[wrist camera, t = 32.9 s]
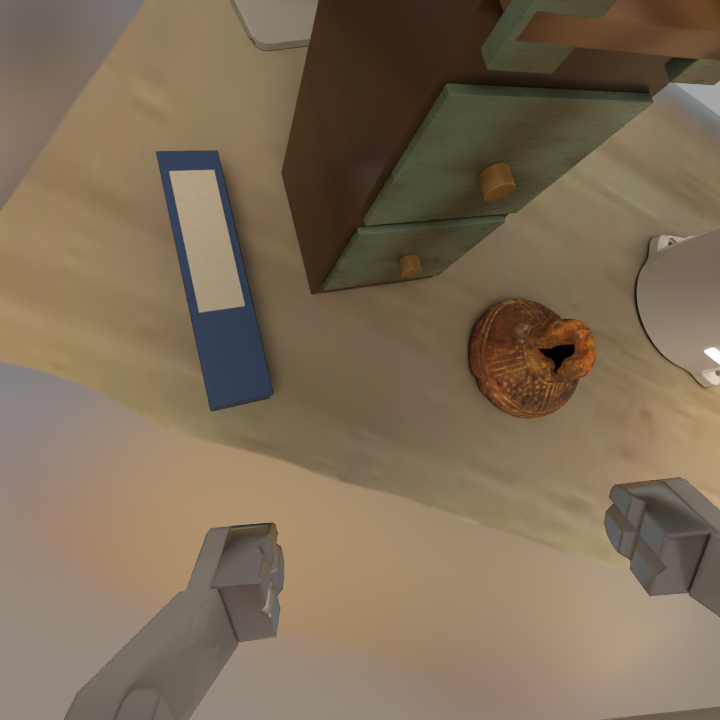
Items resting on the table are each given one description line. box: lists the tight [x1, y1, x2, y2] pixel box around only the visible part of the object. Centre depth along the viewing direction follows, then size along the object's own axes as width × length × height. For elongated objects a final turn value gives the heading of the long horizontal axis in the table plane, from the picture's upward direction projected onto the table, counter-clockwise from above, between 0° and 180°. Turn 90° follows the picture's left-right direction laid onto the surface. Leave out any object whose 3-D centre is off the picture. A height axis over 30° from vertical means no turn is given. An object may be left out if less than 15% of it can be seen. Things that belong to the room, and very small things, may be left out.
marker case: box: [156, 151, 273, 411], centre depth 31 cm, size 4×20×3 cm, turn 14°
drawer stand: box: [282, 0, 720, 294], centre depth 24 cm, size 12×13×30 cm
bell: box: [470, 299, 596, 418], centre depth 37 cm, size 12×12×7 cm
